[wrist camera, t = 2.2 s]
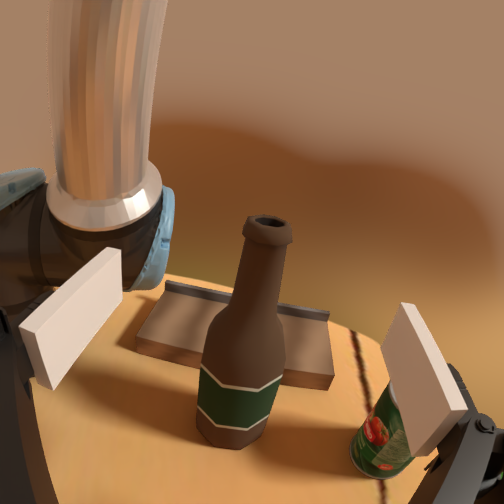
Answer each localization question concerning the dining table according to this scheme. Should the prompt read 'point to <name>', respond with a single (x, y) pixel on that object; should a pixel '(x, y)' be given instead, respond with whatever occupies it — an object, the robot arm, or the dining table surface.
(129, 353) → the dining table surface
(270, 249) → the beer bottle
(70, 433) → the dining table surface
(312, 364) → the shelf
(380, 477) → the canned tomato
